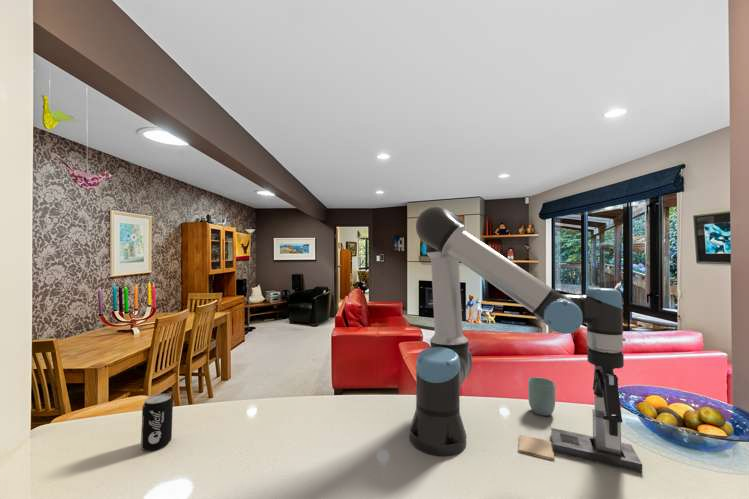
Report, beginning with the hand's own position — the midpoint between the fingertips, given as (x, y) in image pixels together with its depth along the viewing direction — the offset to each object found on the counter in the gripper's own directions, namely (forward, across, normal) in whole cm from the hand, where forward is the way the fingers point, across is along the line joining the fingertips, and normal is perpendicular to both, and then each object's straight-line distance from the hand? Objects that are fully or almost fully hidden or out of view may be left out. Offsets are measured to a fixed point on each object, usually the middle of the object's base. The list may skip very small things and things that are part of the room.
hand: (606, 434), depth 81 cm
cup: (+6, +18, +14) cm, 24 cm away
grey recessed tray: (+5, 0, +3) cm, 6 cm away
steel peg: (+5, 0, 0) cm, 5 cm away
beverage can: (+5, -48, +105) cm, 115 cm away
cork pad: (+5, -4, +16) cm, 17 cm away
